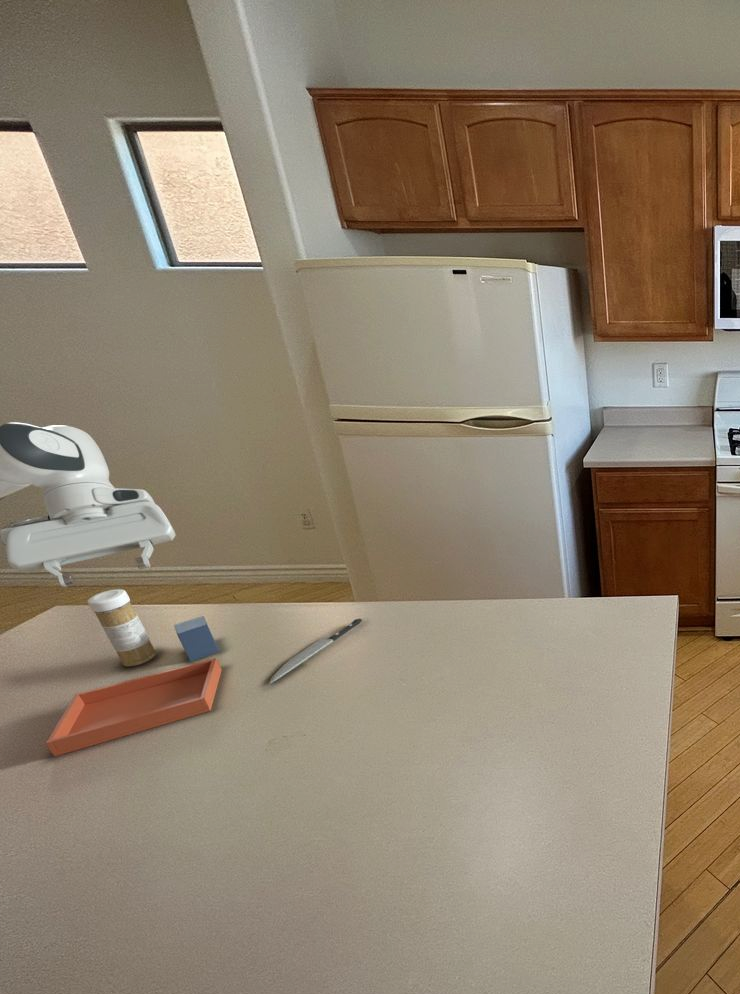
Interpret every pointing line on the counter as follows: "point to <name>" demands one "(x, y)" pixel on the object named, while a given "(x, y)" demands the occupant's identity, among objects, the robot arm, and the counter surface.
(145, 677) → the tray
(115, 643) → the sprinkles bottle
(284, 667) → the chef's knife
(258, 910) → the counter surface
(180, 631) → the blue block
